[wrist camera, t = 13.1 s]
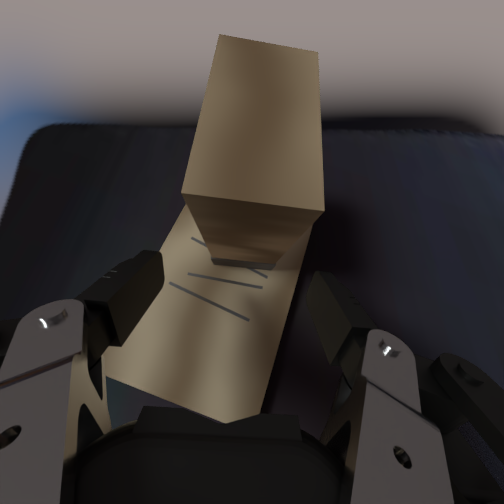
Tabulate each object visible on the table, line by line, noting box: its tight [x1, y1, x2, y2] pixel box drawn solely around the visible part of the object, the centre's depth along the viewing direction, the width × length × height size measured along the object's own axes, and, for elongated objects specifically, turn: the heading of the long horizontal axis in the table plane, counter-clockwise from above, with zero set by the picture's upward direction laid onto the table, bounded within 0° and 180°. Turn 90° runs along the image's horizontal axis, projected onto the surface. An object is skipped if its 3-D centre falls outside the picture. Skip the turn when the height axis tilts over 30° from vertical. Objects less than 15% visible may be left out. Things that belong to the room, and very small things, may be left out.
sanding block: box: [181, 34, 325, 270], centre depth 12 cm, size 5×9×10 cm, turn 175°
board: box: [103, 204, 313, 423], centre depth 16 cm, size 12×20×1 cm, turn 160°
